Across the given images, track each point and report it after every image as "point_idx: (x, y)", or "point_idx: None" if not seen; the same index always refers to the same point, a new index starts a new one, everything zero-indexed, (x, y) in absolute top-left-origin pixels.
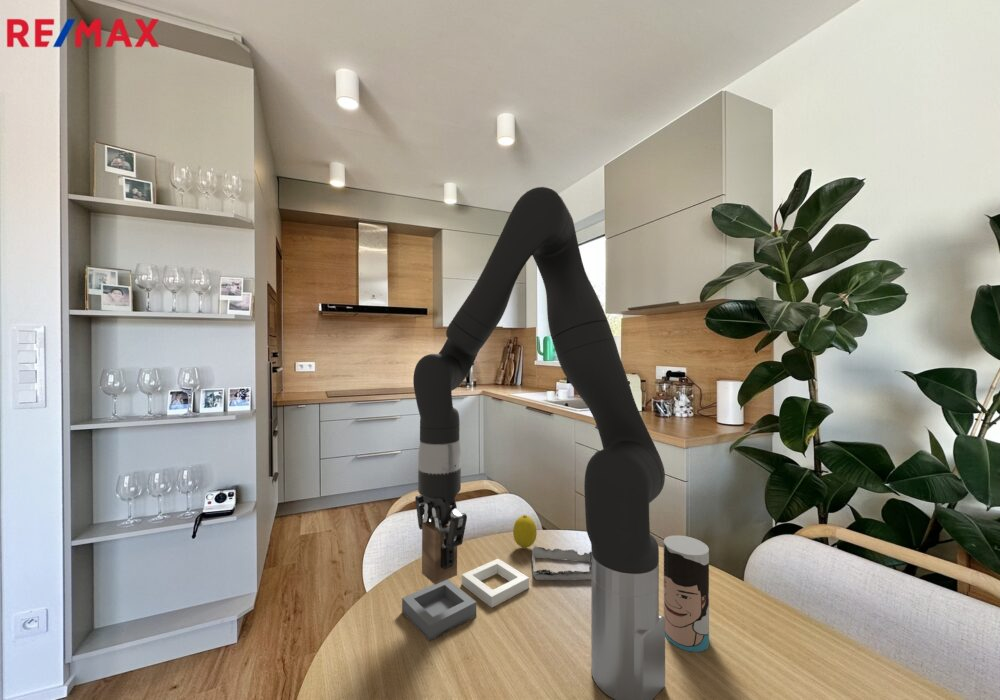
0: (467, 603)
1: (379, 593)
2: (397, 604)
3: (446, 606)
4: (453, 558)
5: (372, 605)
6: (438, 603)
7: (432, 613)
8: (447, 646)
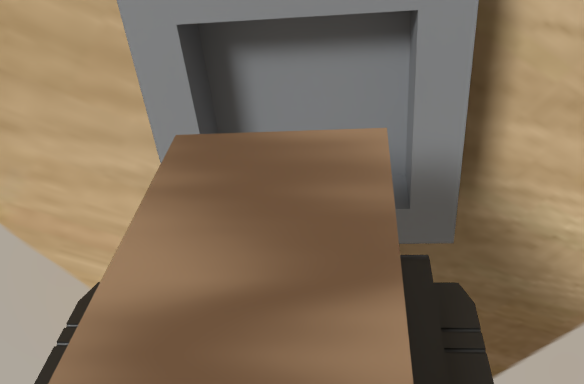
0: (451, 6)
1: (21, 221)
2: (135, 197)
3: (295, 44)
4: (478, 335)
5: (97, 264)
6: (246, 67)
7: (305, 128)
8: (527, 158)
